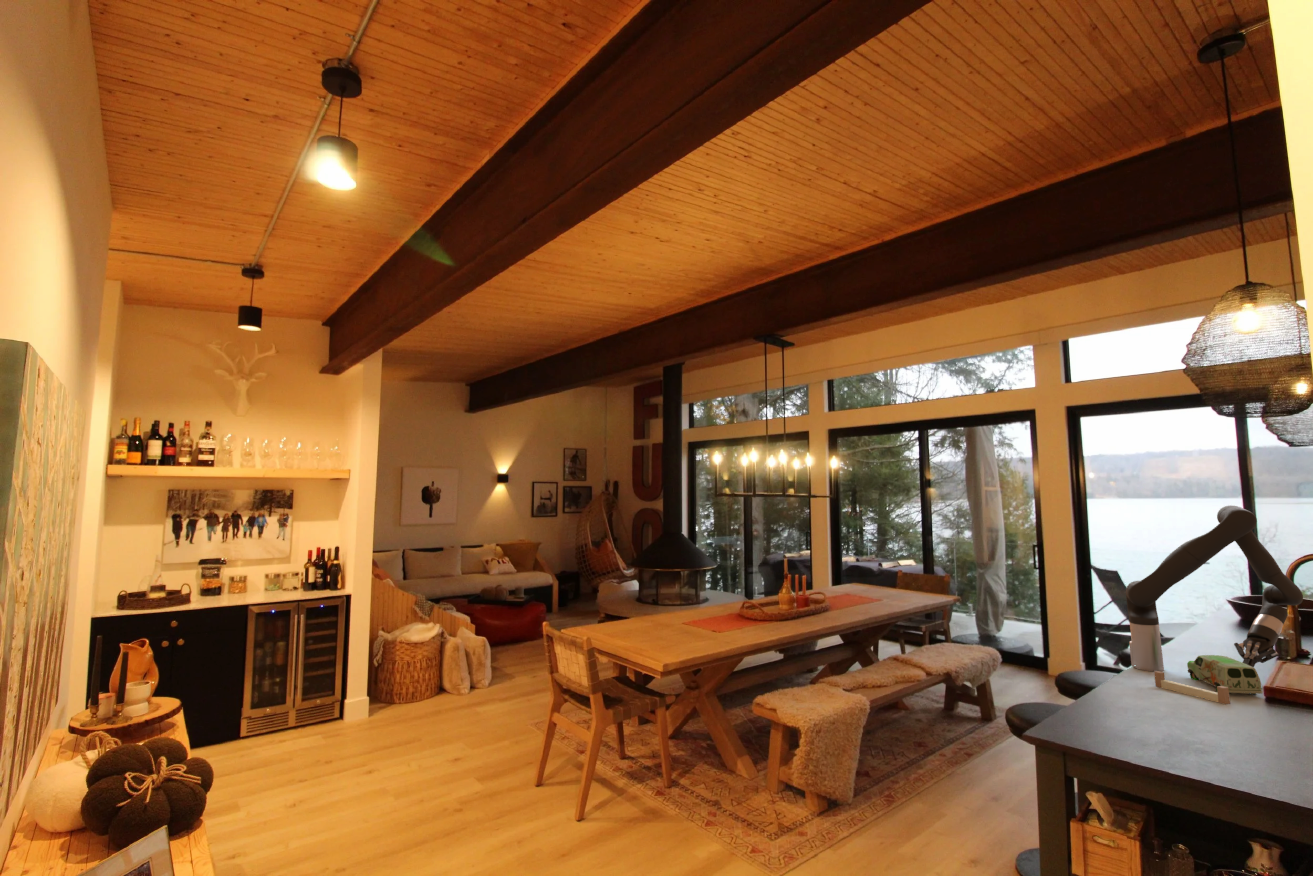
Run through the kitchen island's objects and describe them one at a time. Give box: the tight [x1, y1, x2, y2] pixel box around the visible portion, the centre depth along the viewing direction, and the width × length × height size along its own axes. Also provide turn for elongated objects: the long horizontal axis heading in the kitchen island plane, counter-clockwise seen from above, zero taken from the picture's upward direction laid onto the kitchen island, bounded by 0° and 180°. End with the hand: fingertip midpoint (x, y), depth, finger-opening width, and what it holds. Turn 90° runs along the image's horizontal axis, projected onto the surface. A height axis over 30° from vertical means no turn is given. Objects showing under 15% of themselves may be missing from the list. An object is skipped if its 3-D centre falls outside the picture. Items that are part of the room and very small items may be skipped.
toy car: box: [1187, 654, 1264, 695], centre depth 224 cm, size 11×25×10 cm, turn 165°
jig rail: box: [1153, 671, 1231, 705], centre depth 217 cm, size 22×2×5 cm, turn 16°
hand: (1246, 669), depth 226 cm, fingers closed
